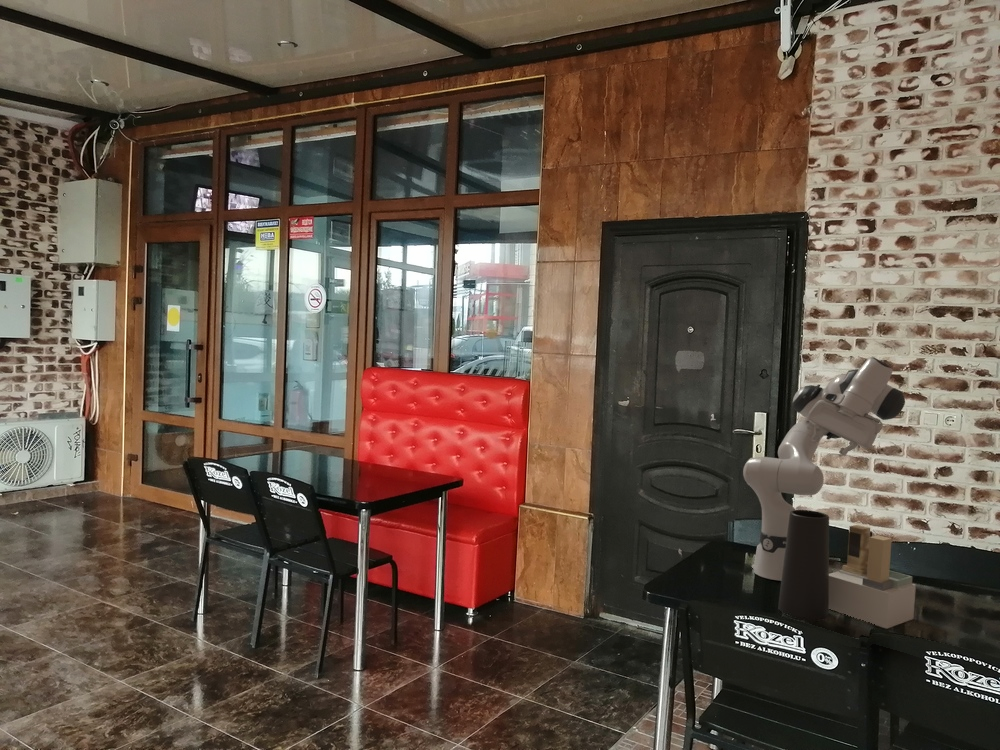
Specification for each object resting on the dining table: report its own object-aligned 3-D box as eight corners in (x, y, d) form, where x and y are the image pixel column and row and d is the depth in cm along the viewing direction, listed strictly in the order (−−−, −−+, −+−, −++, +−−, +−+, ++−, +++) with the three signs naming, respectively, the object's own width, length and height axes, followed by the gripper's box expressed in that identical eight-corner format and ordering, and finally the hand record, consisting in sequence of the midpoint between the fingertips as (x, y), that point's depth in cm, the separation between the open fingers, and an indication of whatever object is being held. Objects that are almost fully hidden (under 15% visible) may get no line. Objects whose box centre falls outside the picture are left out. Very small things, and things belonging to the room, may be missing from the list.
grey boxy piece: (850, 599, 247) (856, 522, 246) (913, 618, 232) (919, 536, 230) (823, 607, 238) (828, 527, 237) (886, 628, 223) (892, 543, 221)
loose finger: (852, 567, 244) (855, 523, 244) (871, 572, 240) (875, 528, 239) (842, 570, 241) (845, 525, 240) (861, 575, 236) (864, 530, 235)
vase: (769, 610, 234) (775, 512, 232) (791, 600, 243) (797, 506, 242) (815, 624, 224) (822, 521, 222) (836, 613, 234) (842, 515, 232)
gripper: (889, 426, 231) (863, 466, 231) (827, 398, 246) (802, 436, 246) (882, 417, 227) (855, 459, 226) (819, 390, 242) (794, 429, 242)
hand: (827, 447), depth 236 cm, fingers open, 8 cm apart
